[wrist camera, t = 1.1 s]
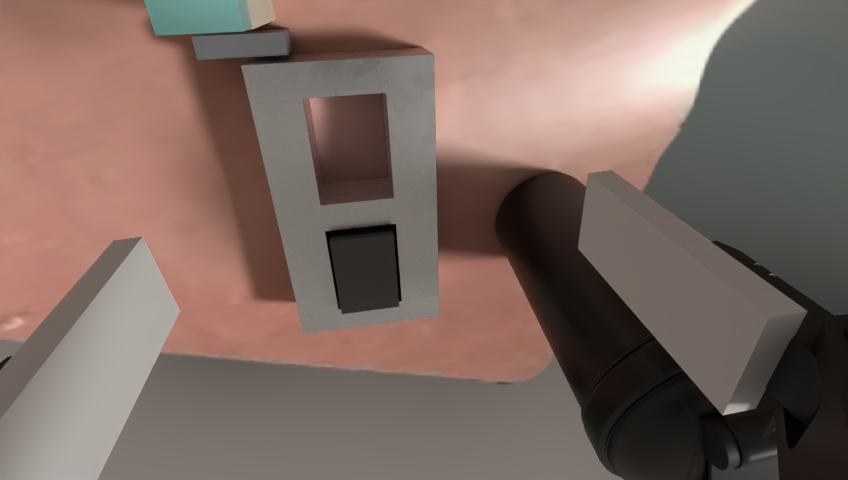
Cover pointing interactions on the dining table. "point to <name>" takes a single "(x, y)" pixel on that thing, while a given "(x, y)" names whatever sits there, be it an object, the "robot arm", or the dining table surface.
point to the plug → (207, 15)
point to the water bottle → (621, 355)
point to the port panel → (352, 187)
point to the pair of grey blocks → (242, 44)
